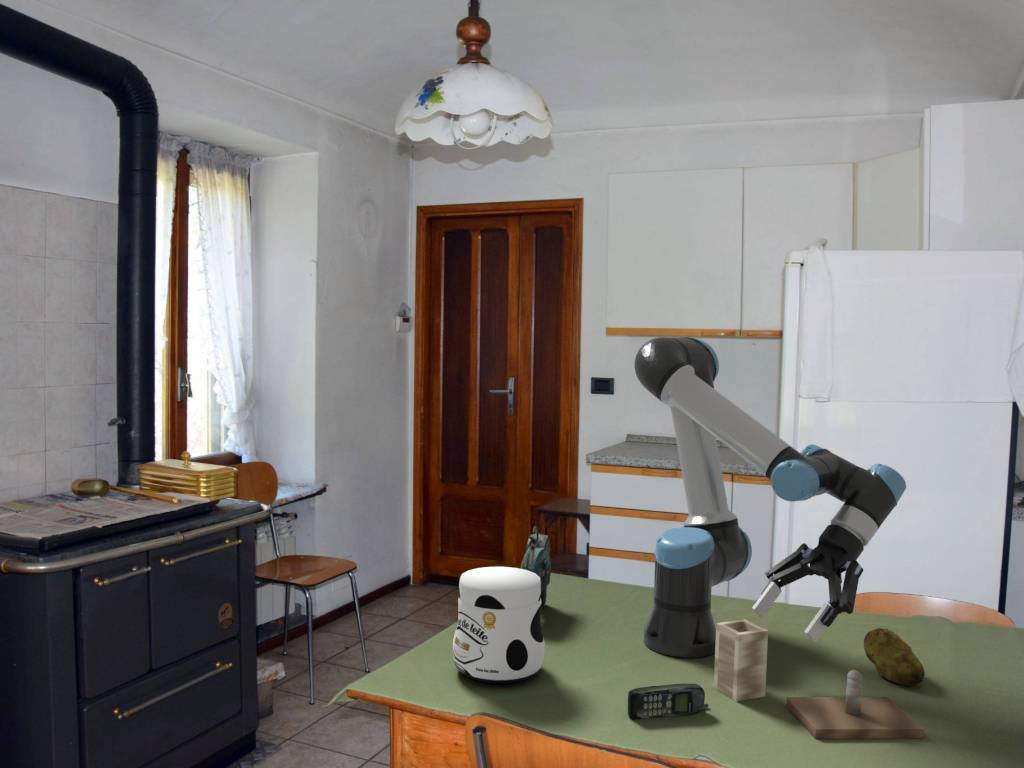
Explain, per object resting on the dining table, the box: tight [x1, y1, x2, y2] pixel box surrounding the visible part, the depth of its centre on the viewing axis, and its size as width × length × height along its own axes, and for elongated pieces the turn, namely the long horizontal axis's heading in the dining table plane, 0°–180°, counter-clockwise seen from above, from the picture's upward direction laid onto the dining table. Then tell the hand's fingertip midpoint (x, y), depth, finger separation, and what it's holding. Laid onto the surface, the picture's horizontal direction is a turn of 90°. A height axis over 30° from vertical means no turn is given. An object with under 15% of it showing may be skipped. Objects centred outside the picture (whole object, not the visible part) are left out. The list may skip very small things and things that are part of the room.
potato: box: [863, 627, 926, 687], centre depth 162 cm, size 8×13×8 cm, turn 178°
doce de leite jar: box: [452, 566, 546, 684], centre depth 159 cm, size 17×17×18 cm
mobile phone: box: [627, 682, 709, 720], centre depth 144 cm, size 5×3×15 cm
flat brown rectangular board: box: [785, 669, 925, 740], centre depth 143 cm, size 18×12×9 cm, turn 94°
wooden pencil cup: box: [713, 618, 769, 703], centre depth 153 cm, size 6×6×12 cm
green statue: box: [519, 525, 552, 609], centre depth 192 cm, size 20×6×20 cm, turn 169°
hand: (782, 624), depth 155 cm, fingers open, 13 cm apart
